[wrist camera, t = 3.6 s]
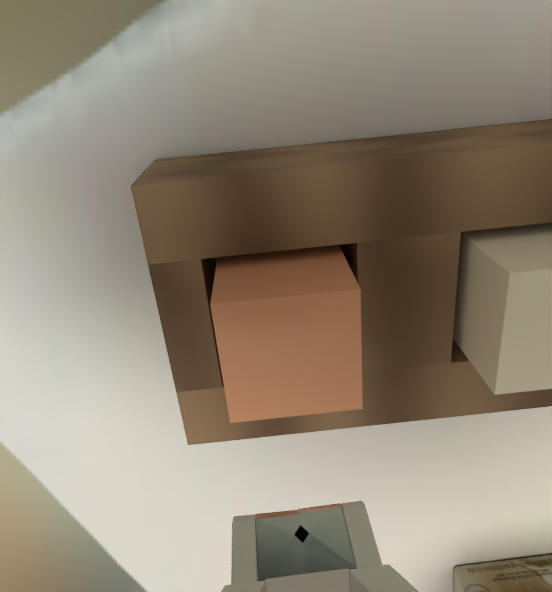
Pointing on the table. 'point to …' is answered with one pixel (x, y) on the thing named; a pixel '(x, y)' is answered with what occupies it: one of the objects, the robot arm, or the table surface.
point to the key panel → (357, 250)
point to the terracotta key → (288, 333)
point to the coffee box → (506, 576)
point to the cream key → (506, 306)
